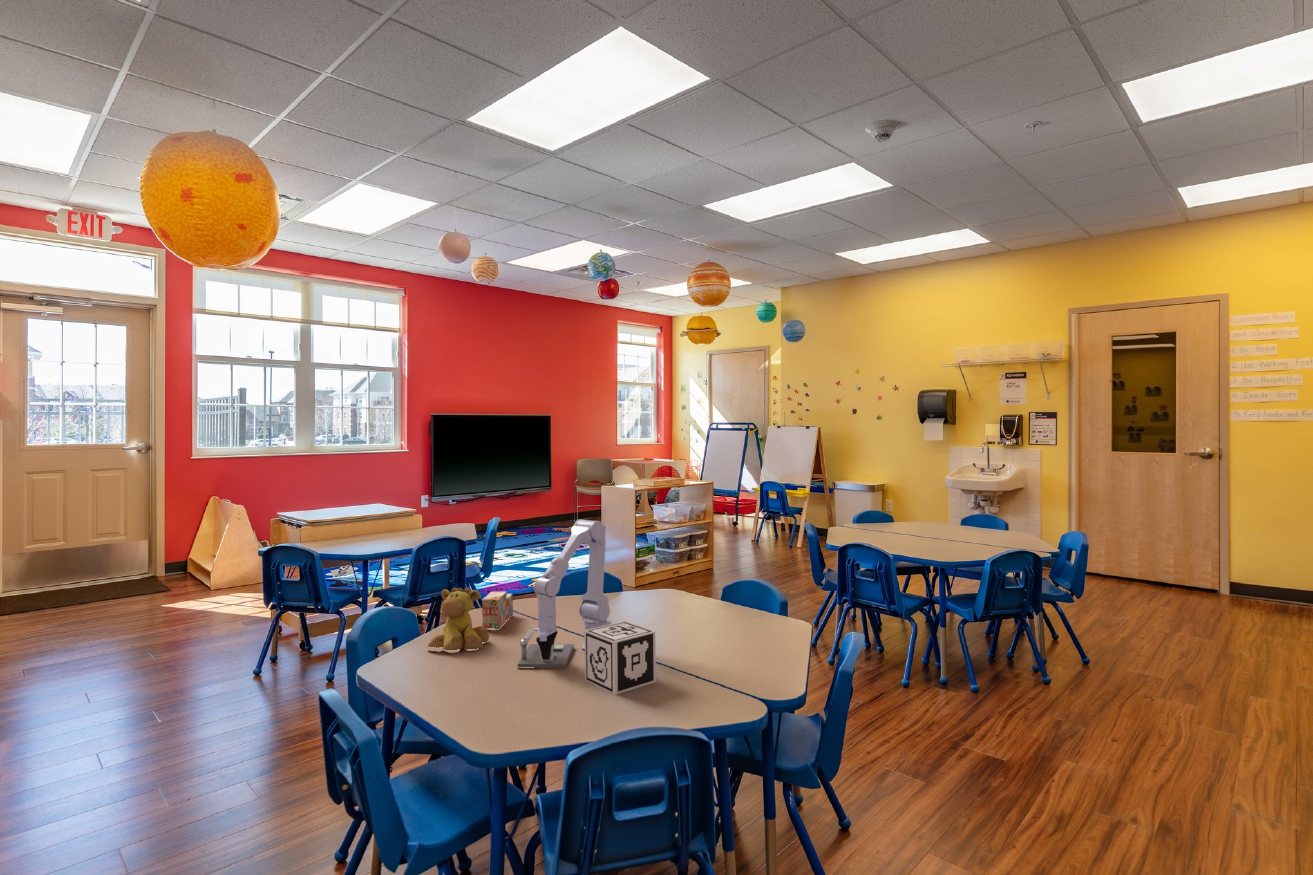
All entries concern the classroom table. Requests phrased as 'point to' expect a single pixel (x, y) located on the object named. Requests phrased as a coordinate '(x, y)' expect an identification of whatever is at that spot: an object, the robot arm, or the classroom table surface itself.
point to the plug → (552, 655)
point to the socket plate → (533, 660)
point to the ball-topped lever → (527, 637)
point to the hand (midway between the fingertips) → (547, 656)
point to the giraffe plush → (459, 622)
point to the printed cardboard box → (496, 609)
